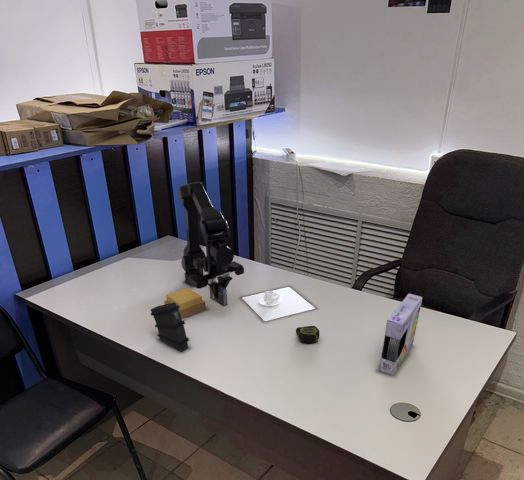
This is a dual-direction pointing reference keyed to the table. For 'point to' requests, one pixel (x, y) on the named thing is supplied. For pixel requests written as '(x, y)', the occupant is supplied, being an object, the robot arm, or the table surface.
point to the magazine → (170, 326)
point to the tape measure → (308, 334)
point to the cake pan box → (400, 333)
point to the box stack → (186, 301)
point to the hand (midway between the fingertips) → (218, 297)
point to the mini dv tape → (220, 296)
